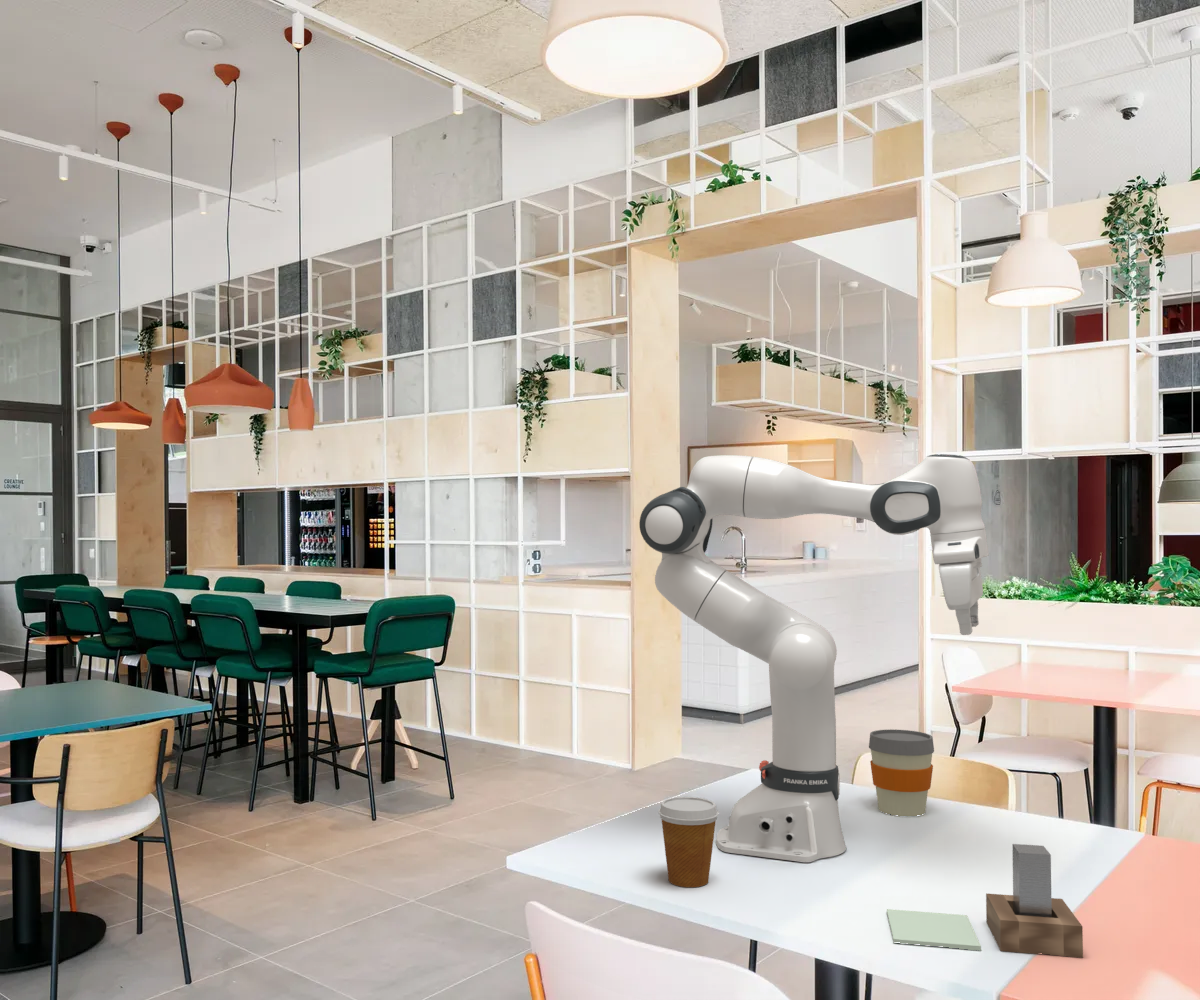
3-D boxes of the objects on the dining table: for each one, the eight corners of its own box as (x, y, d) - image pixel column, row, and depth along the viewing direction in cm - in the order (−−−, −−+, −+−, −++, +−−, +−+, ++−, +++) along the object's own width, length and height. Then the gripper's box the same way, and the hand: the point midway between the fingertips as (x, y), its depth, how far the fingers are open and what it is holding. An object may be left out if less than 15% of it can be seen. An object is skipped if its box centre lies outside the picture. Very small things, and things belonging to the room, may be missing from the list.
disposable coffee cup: (654, 871, 159) (654, 796, 159) (712, 870, 160) (712, 795, 160) (662, 892, 149) (663, 812, 150) (724, 890, 150) (724, 811, 151)
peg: (1020, 944, 131) (1018, 852, 131) (1013, 932, 135) (1012, 843, 135) (1052, 946, 130) (1050, 854, 130) (1044, 934, 134) (1043, 845, 134)
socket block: (1000, 951, 128) (1000, 919, 129) (986, 922, 138) (986, 893, 138) (1082, 957, 126) (1082, 926, 127) (1062, 928, 136) (1062, 898, 136)
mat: (893, 943, 131) (893, 939, 131) (886, 913, 141) (886, 909, 141) (981, 950, 128) (981, 946, 128) (967, 919, 139) (967, 915, 139)
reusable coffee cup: (944, 810, 197) (944, 734, 197) (918, 823, 187) (918, 744, 188) (885, 799, 205) (885, 726, 206) (858, 811, 196) (857, 735, 196)
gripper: (948, 546, 176) (958, 622, 176) (931, 554, 158) (941, 640, 157) (985, 542, 173) (995, 620, 173) (972, 551, 155) (983, 638, 155)
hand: (970, 630), depth 165 cm, fingers open, 8 cm apart
